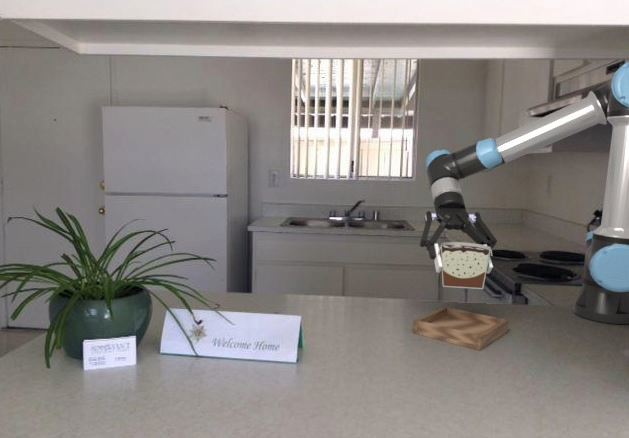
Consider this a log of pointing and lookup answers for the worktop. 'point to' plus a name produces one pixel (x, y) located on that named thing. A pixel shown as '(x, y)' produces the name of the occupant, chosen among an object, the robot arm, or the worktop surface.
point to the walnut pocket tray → (461, 327)
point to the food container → (464, 264)
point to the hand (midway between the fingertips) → (464, 270)
